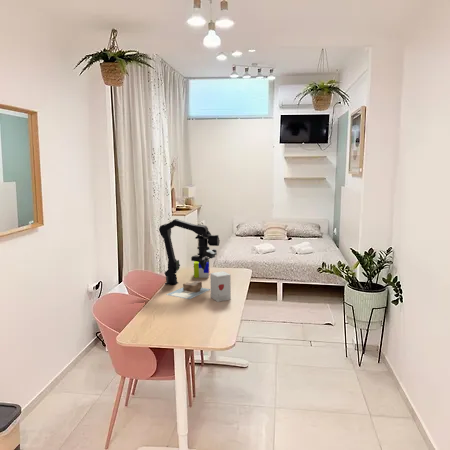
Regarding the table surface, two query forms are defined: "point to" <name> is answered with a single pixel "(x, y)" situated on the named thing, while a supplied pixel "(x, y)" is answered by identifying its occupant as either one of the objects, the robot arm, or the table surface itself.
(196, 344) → the table surface
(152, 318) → the table surface
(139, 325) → the table surface
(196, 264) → the puzzle toy
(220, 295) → the supplement box
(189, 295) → the mat
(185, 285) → the tee
